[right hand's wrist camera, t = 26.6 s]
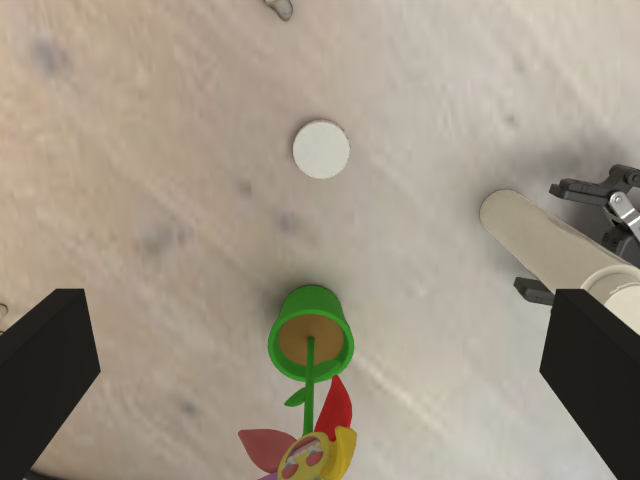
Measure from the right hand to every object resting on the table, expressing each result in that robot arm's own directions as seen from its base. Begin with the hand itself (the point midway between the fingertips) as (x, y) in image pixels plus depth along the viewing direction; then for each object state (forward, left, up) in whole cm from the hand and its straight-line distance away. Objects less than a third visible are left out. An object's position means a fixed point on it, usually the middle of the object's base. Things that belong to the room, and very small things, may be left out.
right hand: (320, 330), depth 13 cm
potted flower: (+4, -16, -31) cm, 35 cm away
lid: (0, 0, -29) cm, 29 cm away
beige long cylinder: (+19, 0, -31) cm, 36 cm away
